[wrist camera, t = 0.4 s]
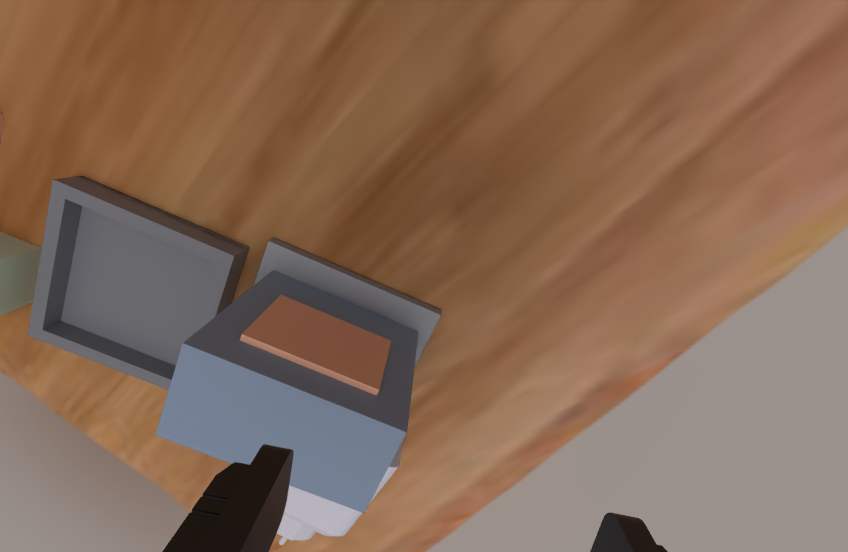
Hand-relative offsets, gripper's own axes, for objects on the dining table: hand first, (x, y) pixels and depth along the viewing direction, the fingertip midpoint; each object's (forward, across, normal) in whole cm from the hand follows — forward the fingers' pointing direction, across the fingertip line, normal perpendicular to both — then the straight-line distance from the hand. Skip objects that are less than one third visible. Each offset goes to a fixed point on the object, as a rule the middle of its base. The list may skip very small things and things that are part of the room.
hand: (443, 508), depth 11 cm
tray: (+23, +22, +6) cm, 33 cm away
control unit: (+24, +7, +6) cm, 25 cm away
